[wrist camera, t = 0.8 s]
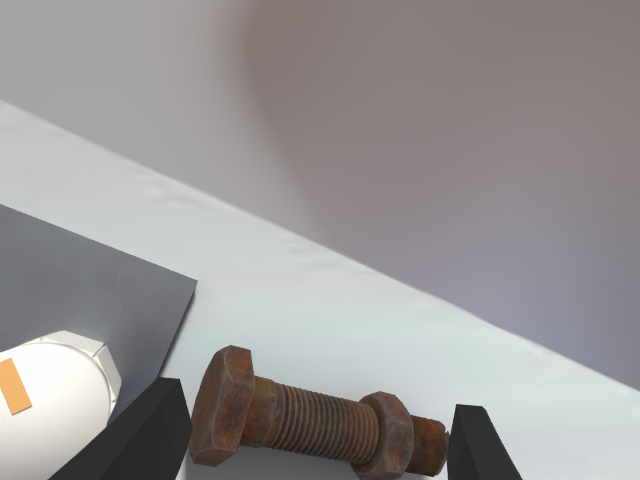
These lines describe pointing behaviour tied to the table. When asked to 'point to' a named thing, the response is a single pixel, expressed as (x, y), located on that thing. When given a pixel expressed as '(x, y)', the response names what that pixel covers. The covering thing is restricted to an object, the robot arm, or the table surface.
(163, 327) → the plate
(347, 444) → the bolt
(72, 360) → the knob
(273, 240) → the table surface
